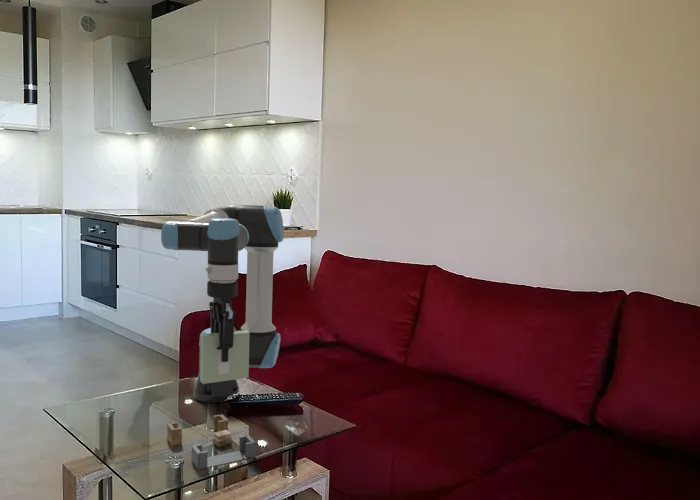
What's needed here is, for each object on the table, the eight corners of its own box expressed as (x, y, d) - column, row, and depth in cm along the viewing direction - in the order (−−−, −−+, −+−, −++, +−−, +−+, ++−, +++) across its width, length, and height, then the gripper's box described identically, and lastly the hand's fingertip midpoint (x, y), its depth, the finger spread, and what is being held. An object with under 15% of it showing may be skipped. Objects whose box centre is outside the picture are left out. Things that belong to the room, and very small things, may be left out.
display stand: (248, 452, 164) (248, 434, 163) (255, 460, 160) (255, 442, 159) (191, 464, 156) (191, 445, 156) (197, 472, 152) (197, 453, 151)
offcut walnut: (225, 439, 170) (225, 434, 169) (231, 443, 167) (231, 438, 167) (212, 443, 167) (212, 438, 167) (218, 447, 165) (218, 441, 165)
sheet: (245, 374, 159) (245, 330, 158) (248, 377, 157) (249, 332, 156) (199, 380, 153) (200, 334, 152) (202, 383, 151) (203, 336, 150)
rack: (222, 431, 177) (222, 414, 176) (227, 438, 172) (228, 420, 172) (167, 441, 169) (167, 423, 168) (171, 449, 164) (171, 430, 164)
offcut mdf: (225, 434, 169) (225, 429, 169) (230, 438, 167) (230, 433, 167) (213, 438, 167) (213, 432, 167) (218, 441, 165) (218, 436, 164)
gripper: (198, 276, 157) (197, 364, 159) (218, 286, 143) (216, 382, 146) (226, 275, 161) (225, 361, 163) (248, 284, 147) (246, 378, 150)
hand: (221, 371), depth 155 cm, fingers closed on sheet, 2 cm apart
